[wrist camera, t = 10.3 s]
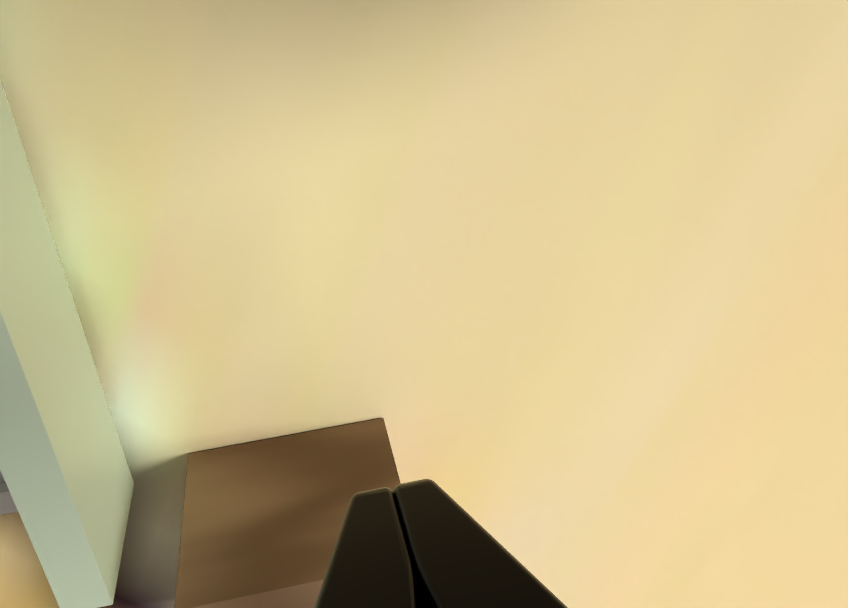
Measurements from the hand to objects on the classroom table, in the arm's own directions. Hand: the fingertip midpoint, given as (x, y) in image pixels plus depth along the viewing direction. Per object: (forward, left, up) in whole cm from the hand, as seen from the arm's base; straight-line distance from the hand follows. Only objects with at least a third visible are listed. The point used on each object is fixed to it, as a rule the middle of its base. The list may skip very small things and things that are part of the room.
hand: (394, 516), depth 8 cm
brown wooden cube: (+2, +9, -10) cm, 14 cm away
